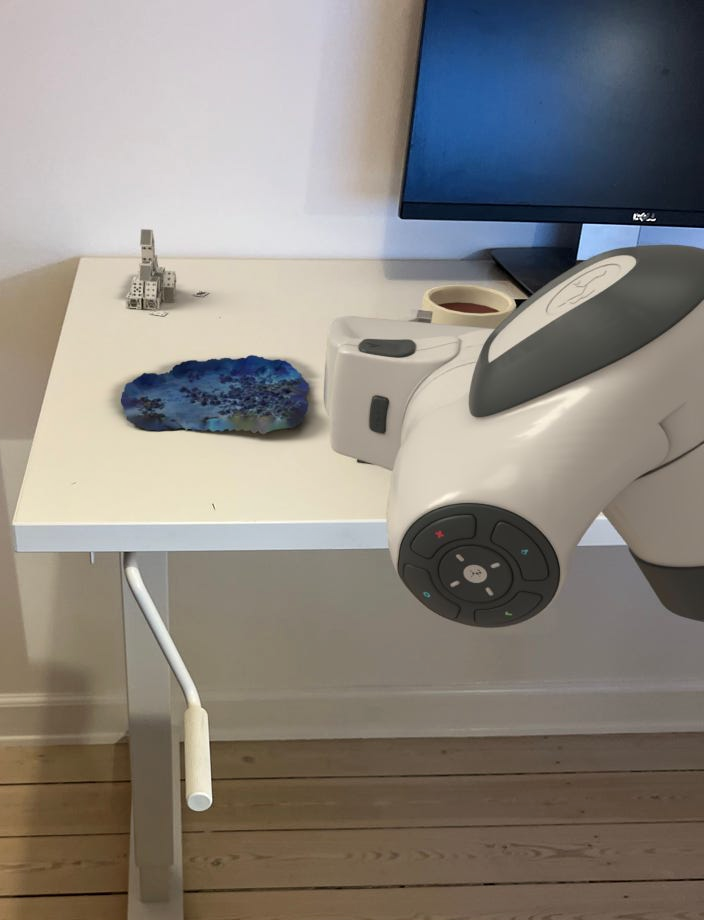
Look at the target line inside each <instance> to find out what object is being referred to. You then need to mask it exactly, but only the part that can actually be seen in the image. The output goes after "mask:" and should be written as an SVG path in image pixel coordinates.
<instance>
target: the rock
mask: <svg viewBox="0 0 704 920" xmlns="http://www.w3.org/2000/svg"><path fill="white" fill-rule="evenodd" d="M309 390H310V383H309V382H308V381H306V380H305V378H304V377H303V374H302V373H301V372H299V371H298V370H297V369H296V368H295V367H293V365H292V364H291V363H290V362H289V361H288V362H287V360H281V359H279V358H278V359H270V358H269V359H268V358H264V357H263V356H258V355H254V354H250V355H247V356H246V357H239V358H234V359H233V358H231V357H221V358H220V359H218V358H211V359H207V360H201V361H199V360H196V359H190V360H186V361H181V363H179V364H175V365H174V366H173V367H172V368H171V369H170V370H169V372H168V371H166V372H165V373H159V374H157V373H155V372H150V373H149V372H148V373H147V372H143V373H142V374H141V375H139V376H137V377H136V378H134V379H133V380H132V381H129V382H127V383H126V384H125V385H124V388H123V391H122V392H121V398H120V404H121V406H122V411H123V413H124V415H125V416H126V420H127V422H129V423H131V424H132V425H133V426H134V427H135V428H139V429H144V430H145V431H155V432H160V431H162V430H166V431H167V430H168V431H169V430H170V431H176V430H178V429H184V430H185V431H187V430H189V429H190V430H192V431H193V432H195V431H201V432H204V431H207V430H210V431H211V432H216V431H220V432H223V431H224V430H228V431H229V432H231V431H233V430H234V431H241V430H243V431H246V432H247V431H250V432H251V433H254V434H255V433H257V432H259V433H260V434H261V435H265V434H267V433H269V432H272V431H276V430H281V429H294V428H296V427H297V426H298V425H299V424H302V422H303V419H304V418H305V415H307V412H308V410H309V407H310V404H309V403H310V402H309V401H306V398H307V396H308V395H309V393H308V392H309Z"/></svg>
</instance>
